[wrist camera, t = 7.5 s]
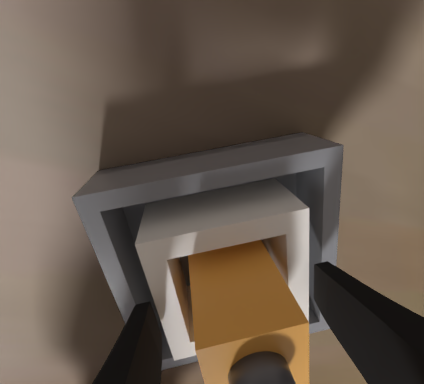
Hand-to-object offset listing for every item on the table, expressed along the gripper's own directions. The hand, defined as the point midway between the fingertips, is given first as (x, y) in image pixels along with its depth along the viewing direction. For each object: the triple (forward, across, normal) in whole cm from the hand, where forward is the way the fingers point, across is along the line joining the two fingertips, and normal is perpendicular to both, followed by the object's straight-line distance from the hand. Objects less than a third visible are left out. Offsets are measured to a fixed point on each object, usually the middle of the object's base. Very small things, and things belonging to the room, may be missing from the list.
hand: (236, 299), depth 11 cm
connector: (+4, 0, 0) cm, 4 cm away
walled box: (+5, 0, 0) cm, 5 cm away
